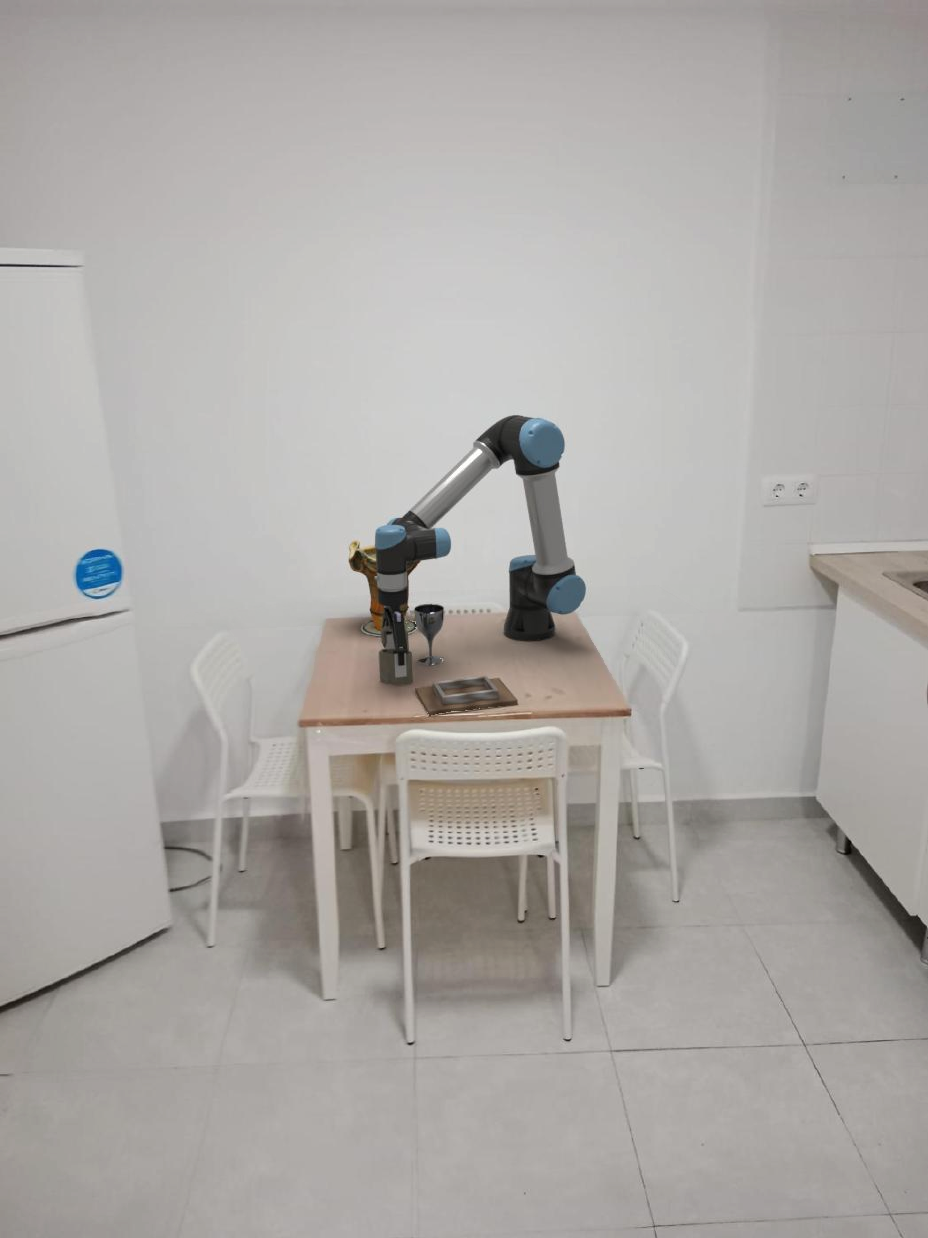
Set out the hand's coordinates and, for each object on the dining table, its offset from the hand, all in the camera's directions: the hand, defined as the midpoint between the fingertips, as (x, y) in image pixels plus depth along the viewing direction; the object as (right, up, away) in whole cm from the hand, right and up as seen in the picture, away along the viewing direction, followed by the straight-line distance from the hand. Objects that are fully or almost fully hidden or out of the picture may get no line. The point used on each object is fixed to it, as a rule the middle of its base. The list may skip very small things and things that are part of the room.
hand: (395, 667), depth 242 cm
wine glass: (+9, +1, +15) cm, 18 cm away
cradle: (+18, -7, -10) cm, 22 cm away
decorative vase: (-5, +10, +42) cm, 44 cm away
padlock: (0, -4, +1) cm, 4 cm away
